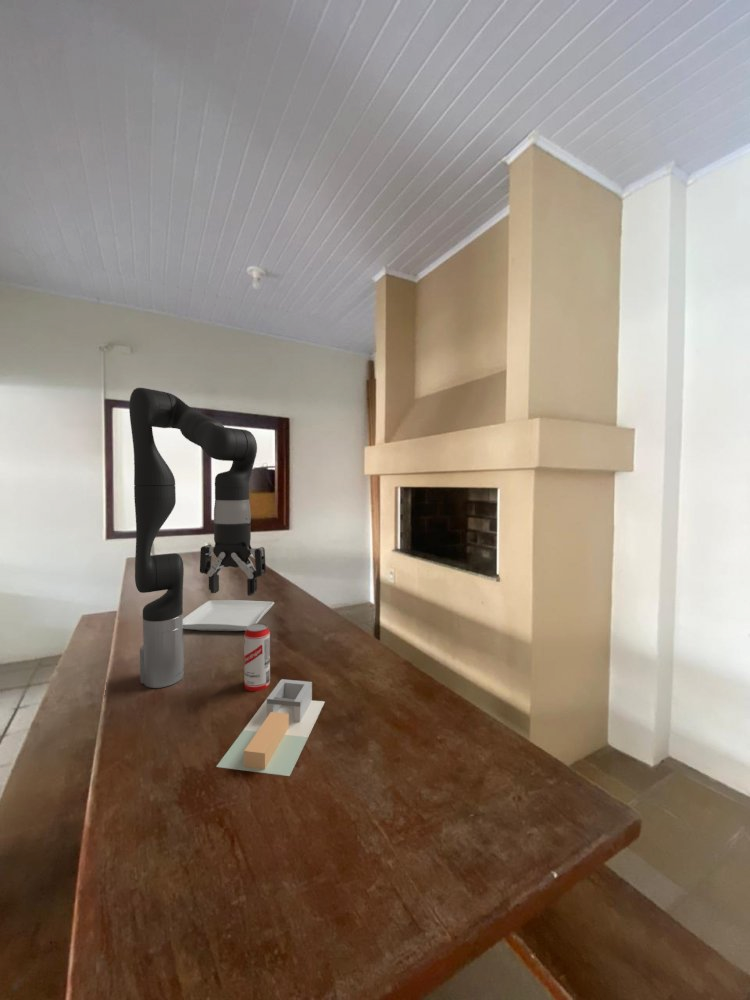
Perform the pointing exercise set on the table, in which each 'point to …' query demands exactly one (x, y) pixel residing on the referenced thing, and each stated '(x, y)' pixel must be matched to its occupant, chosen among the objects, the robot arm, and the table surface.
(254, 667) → the beer can
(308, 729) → the two-tone mat
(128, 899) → the table surface
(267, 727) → the tan wooden plank
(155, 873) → the table surface
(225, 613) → the square plate
